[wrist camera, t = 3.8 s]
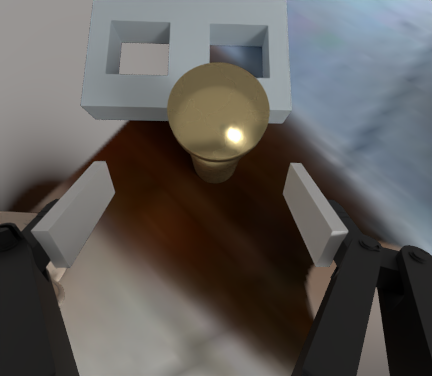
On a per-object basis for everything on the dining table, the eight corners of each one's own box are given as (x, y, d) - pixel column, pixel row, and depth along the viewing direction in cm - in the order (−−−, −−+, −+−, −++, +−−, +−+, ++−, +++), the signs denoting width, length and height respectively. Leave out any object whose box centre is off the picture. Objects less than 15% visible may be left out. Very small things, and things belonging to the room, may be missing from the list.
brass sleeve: (241, 137, 26) (268, 63, 14) (242, 189, 25) (271, 158, 13) (188, 136, 25) (169, 61, 14) (186, 189, 24) (164, 156, 13)
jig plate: (278, 21, 28) (286, -2, 25) (282, 123, 26) (291, 110, 23) (106, 16, 28) (94, -9, 25) (95, 119, 25) (80, 105, 22)
